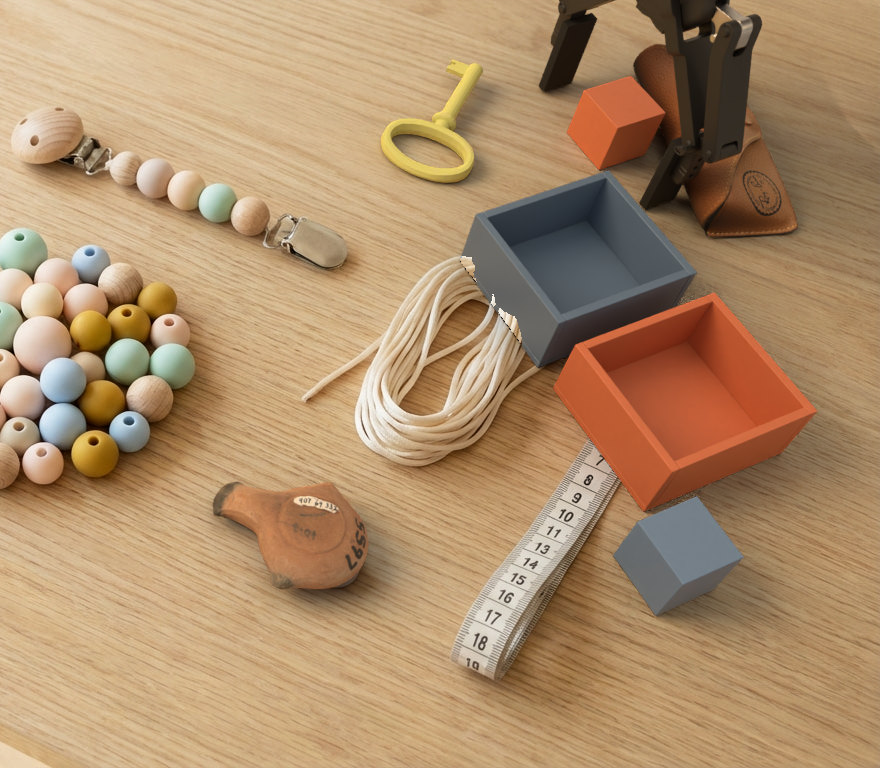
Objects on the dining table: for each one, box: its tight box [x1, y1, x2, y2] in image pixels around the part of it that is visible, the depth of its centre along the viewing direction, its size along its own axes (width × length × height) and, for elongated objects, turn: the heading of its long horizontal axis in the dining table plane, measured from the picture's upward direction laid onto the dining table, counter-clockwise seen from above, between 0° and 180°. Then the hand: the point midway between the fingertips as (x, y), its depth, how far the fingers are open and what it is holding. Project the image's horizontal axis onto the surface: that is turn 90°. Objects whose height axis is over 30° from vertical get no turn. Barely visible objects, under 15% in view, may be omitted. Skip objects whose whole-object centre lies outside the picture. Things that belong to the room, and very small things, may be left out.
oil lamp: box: [212, 481, 369, 590], centre depth 73 cm, size 9×4×8 cm
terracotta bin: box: [552, 292, 818, 512], centre depth 79 cm, size 11×10×5 cm
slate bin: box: [460, 170, 698, 368], centre depth 85 cm, size 11×10×5 cm
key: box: [380, 58, 484, 184], centre depth 95 cm, size 7×12×2 cm, turn 169°
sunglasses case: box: [632, 43, 799, 239], centre depth 94 cm, size 18×7×7 cm
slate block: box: [612, 496, 745, 617], centre depth 72 cm, size 4×4×4 cm
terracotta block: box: [566, 75, 665, 171], centre depth 93 cm, size 4×4×4 cm
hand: (603, 141), depth 95 cm, fingers open, 13 cm apart
